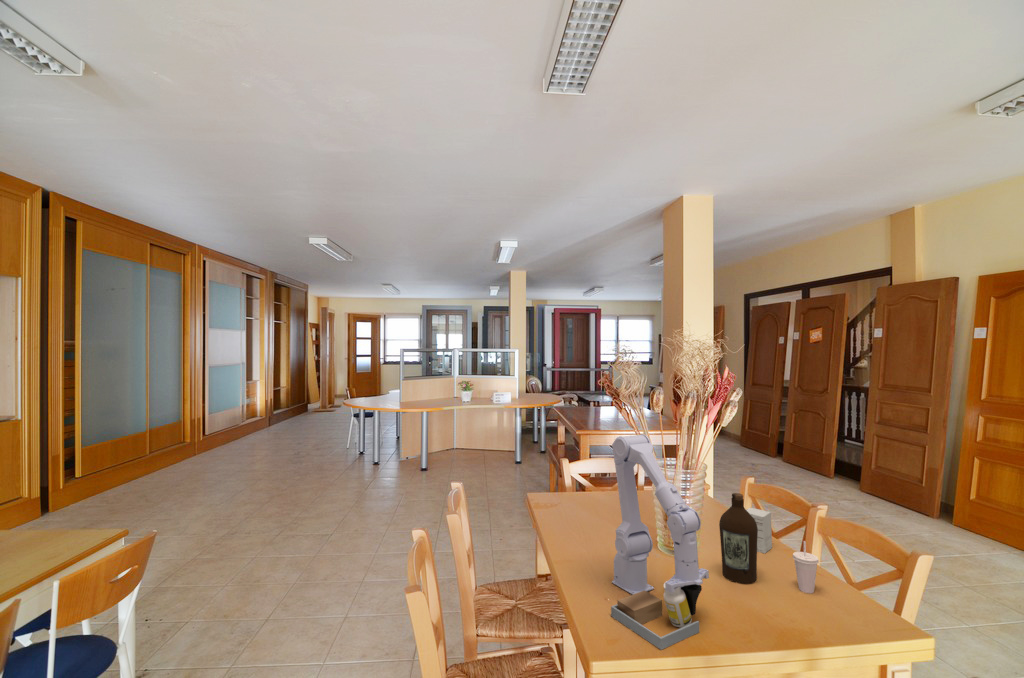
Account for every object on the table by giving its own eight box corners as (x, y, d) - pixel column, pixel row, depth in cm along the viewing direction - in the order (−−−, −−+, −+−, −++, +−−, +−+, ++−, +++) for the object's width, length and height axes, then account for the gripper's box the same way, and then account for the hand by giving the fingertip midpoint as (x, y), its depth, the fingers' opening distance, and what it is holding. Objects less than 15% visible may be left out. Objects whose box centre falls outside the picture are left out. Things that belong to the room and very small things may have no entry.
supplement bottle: (690, 611, 120) (681, 576, 120) (693, 627, 115) (684, 590, 115) (669, 614, 122) (659, 579, 121) (671, 629, 117) (661, 593, 116)
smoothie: (791, 590, 135) (789, 541, 135) (796, 582, 140) (795, 534, 140) (817, 598, 130) (815, 547, 131) (821, 589, 135) (820, 540, 136)
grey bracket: (611, 616, 122) (611, 606, 122) (648, 602, 129) (647, 592, 129) (661, 649, 108) (660, 638, 108) (699, 632, 115) (699, 621, 115)
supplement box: (750, 542, 170) (749, 506, 171) (772, 548, 165) (771, 511, 165) (742, 547, 165) (741, 511, 166) (765, 554, 160) (764, 516, 160)
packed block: (617, 615, 122) (617, 600, 122) (644, 605, 127) (644, 590, 127) (634, 627, 117) (634, 610, 117) (662, 615, 122) (662, 600, 122)
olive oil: (724, 566, 151) (722, 487, 152) (761, 575, 144) (759, 493, 145) (716, 578, 142) (715, 495, 143) (755, 588, 136) (753, 501, 137)
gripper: (680, 570, 113) (684, 629, 112) (717, 556, 121) (721, 611, 119) (657, 561, 119) (660, 617, 118) (694, 548, 127) (697, 601, 125)
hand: (689, 613), depth 119 cm, fingers closed, pressing on supplement bottle
